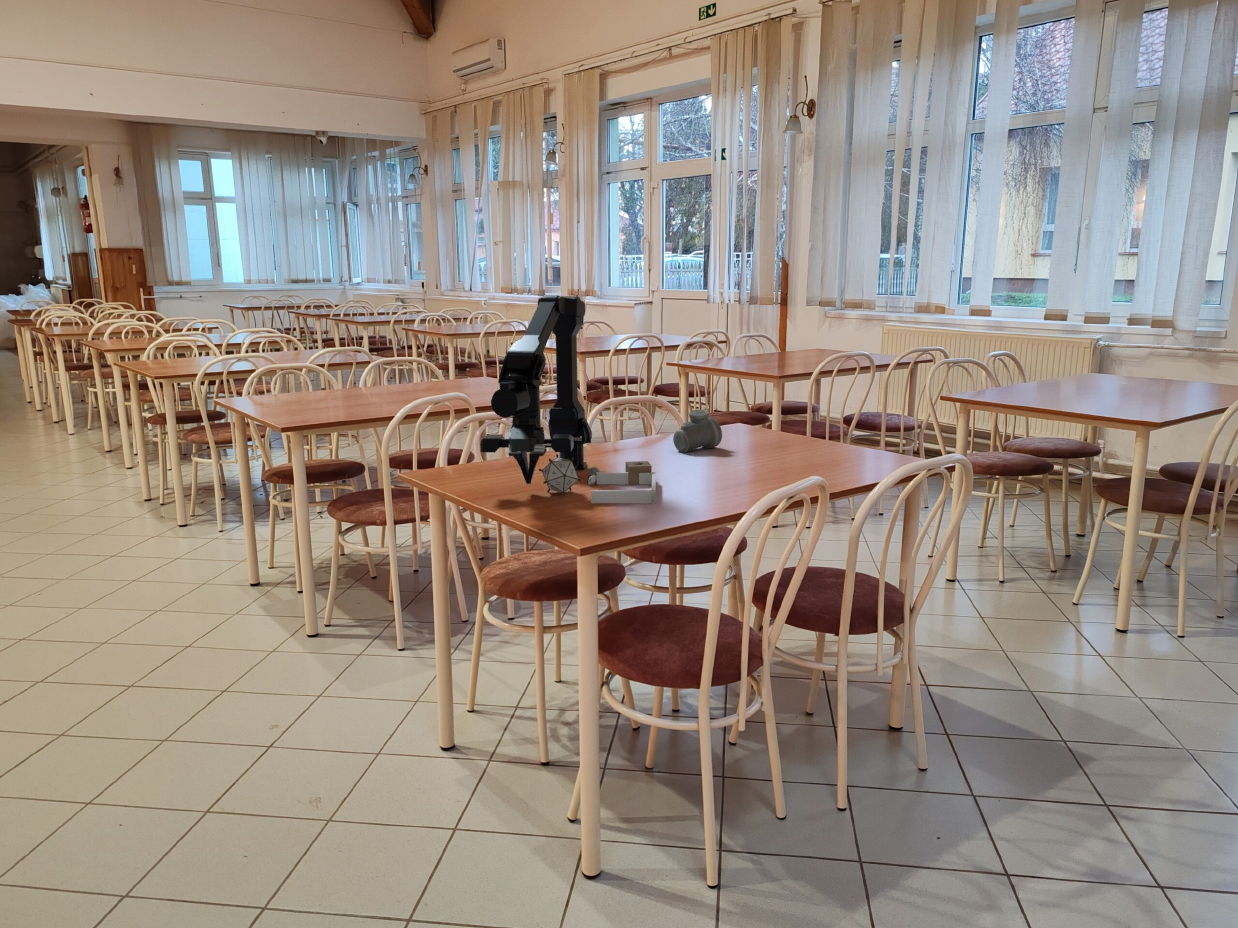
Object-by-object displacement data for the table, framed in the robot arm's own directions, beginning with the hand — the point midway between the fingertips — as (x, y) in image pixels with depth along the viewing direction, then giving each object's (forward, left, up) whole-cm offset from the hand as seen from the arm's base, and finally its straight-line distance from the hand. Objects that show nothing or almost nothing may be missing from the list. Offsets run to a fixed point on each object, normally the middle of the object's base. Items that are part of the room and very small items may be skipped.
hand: (528, 483), depth 182 cm
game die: (0, +7, -2) cm, 7 cm away
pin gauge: (-10, +13, -2) cm, 16 cm away
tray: (0, +20, -2) cm, 20 cm away
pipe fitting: (-45, +37, -2) cm, 58 cm away
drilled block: (-10, +23, -2) cm, 25 cm away
